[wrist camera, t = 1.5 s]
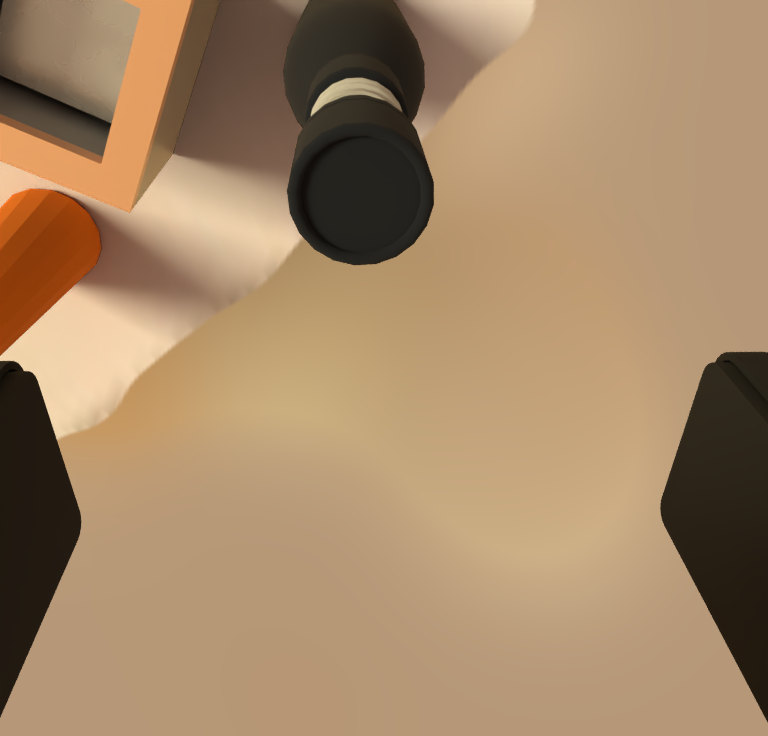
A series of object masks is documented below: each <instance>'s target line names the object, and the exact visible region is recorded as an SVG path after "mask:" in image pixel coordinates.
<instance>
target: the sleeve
mask: <svg viewBox="0 0 768 736" xmlns="http://www.w3.org/2000/svg"><path fill="white" fill-rule="evenodd" d="M123 1H125V2H128V3H130V4H132V5H134V6H136V7H138V8H140V9H141V11H140V15H139V19H138V23H137V27H136V30H135V34H134V38H133V42H132V46H131V50H130V54H129V58H128V62H127V66H126V69H125V73H124V77H123V81H122V85H121V89H120V93H119V97H118V101H117V105H116V108H115V112H114V116H113V120H112V123H110V122H107V121H105V120H103V119H100V118H98V117H96V116H93V115H91V114H89V113H86V112H84V111H82V110H80V109H77V108H75V107H73V106H70V105H68V104H66V103H63V102H61V101H59V100H56V99H54V98H52V97H50V96H47V95H45V94H43V93H40V92H38V91H36V90H33V89H31V88H29V87H26V86H24V85H22V84H20V83H17V82H15V81H13V80H10V79H8V78H6V77H3V76H1V75H0V161H2V162H4V163H7V164H9V165H12V166H14V167H17V168H19V169H22V170H24V171H27V172H29V173H32V174H34V175H37V176H39V177H42V178H44V179H47V180H49V181H52V182H54V183H57V184H59V185H62V186H64V187H67V188H69V189H72V190H74V191H77V192H79V193H82V194H84V195H87V196H89V197H92V198H94V199H97V200H99V201H102V202H104V203H107V204H109V205H112V206H114V207H117V208H119V209H122V210H124V211H127V212H129V213H130V212H131V210H132V209H133V208H134V206H135V205H136V204H137V202H138V201H139V200H140V198H141V197H142V195H143V194H144V193H145V191H146V190H147V189H148V187H149V186H150V184H151V183H152V182H153V180H154V179H155V178H156V176H157V175H158V173H159V172H160V171H161V169H162V168H163V167H164V165H165V164H166V162H167V161H168V160H169V158H170V157H171V156H172V154H173V151H174V148H175V145H176V142H177V138H178V135H179V132H180V129H181V125H182V122H183V119H184V116H185V113H186V109H187V106H188V103H189V100H190V96H191V93H192V90H193V87H194V84H195V80H196V77H197V74H198V71H199V67H200V64H201V61H202V58H203V55H204V51H205V48H206V45H207V42H208V38H209V35H210V32H211V29H212V26H213V22H214V19H215V16H216V13H217V9H218V6H219V3H220V0H123ZM2 3H3V0H0V16H1V9H2Z"/></svg>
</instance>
